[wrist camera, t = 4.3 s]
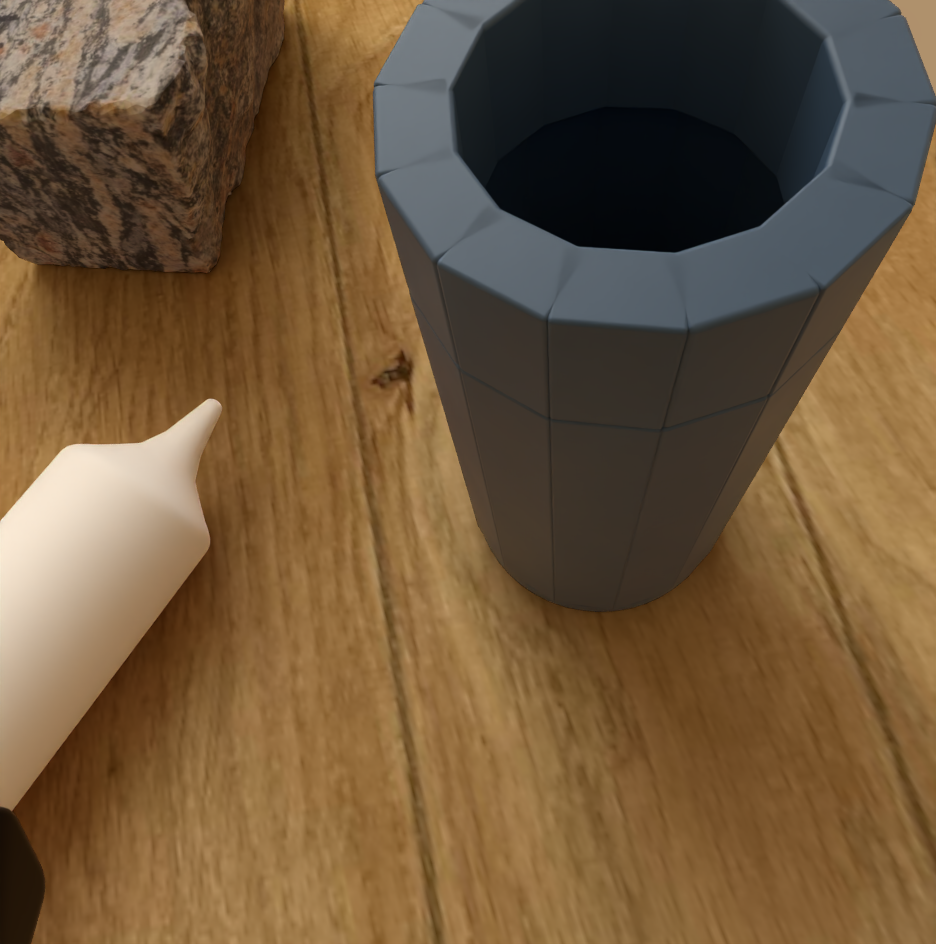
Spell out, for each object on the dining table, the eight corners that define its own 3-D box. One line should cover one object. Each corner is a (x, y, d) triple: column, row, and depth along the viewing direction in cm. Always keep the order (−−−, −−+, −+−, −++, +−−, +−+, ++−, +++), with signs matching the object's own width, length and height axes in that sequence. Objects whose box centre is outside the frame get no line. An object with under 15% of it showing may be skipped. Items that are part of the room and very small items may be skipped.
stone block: (253, 325, 26) (142, 150, 19) (13, 281, 28) (-170, 105, 21) (383, 13, 31) (331, -219, 24) (171, -8, 33) (65, -230, 26)
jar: (772, 493, 22) (1061, 68, 9) (596, 667, 21) (652, 451, 8) (595, 345, 25) (634, -158, 12) (426, 494, 23) (263, 114, 11)
